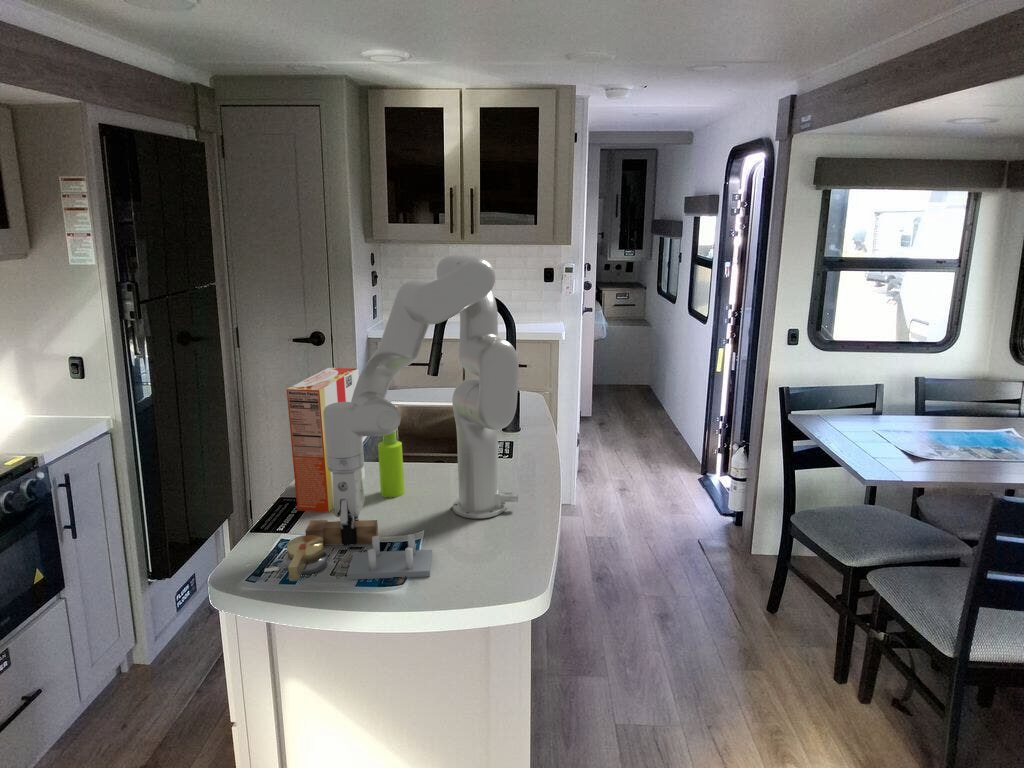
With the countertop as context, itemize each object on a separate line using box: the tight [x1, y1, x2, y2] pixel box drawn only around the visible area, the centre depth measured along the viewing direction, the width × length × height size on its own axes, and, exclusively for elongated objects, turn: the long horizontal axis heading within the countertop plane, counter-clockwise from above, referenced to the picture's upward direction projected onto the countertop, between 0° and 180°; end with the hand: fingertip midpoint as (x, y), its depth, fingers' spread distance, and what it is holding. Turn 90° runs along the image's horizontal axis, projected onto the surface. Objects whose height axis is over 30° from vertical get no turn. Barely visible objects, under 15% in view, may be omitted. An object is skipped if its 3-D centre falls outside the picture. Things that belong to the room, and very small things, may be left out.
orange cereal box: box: [286, 367, 366, 513], centre depth 180 cm, size 23×8×30 cm, turn 170°
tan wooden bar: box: [305, 519, 379, 547], centre depth 156 cm, size 15×5×4 cm, turn 93°
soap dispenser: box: [377, 429, 405, 498], centre depth 180 cm, size 6×7×20 cm
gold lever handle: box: [286, 534, 325, 582], centre depth 141 cm, size 14×7×3 cm, turn 3°
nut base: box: [263, 550, 329, 577], centre depth 145 cm, size 12×8×2 cm, turn 93°
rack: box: [346, 534, 433, 581], centre depth 144 cm, size 16×9×5 cm, turn 93°
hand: (351, 540), depth 156 cm, fingers closed on tan wooden bar, 3 cm apart
